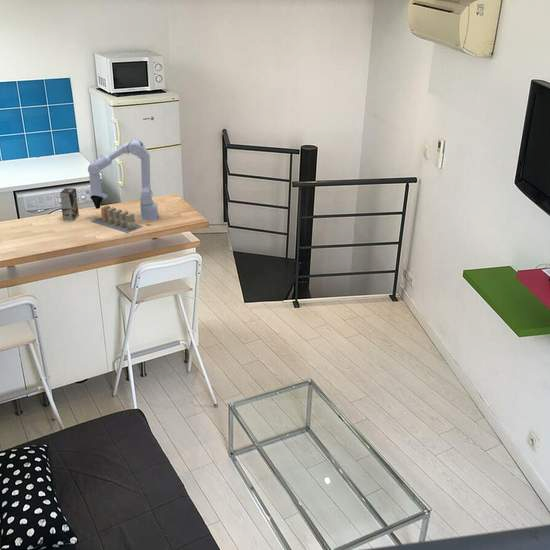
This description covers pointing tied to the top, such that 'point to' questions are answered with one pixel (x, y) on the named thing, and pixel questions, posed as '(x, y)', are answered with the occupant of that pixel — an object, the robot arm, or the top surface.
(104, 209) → the terracotta tile
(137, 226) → the slate mat
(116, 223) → the grey wooden block
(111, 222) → the grey wood block
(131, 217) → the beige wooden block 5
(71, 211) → the coffee box
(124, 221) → the wooden block
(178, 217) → the top surface
